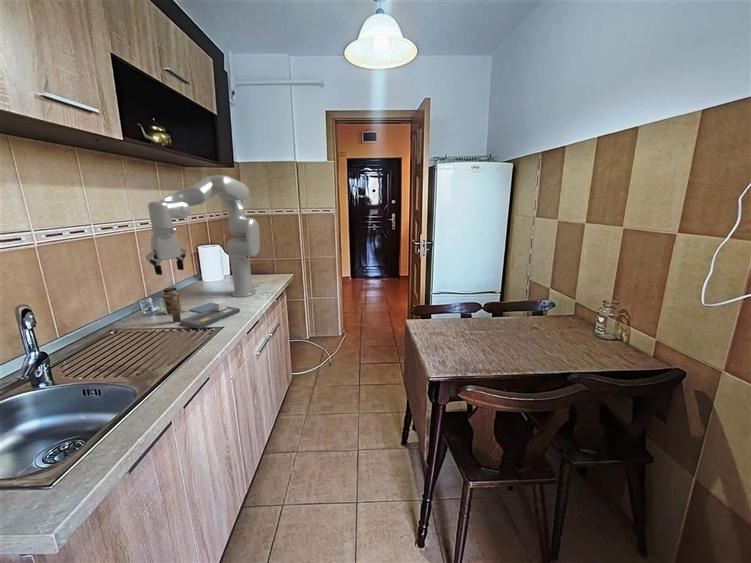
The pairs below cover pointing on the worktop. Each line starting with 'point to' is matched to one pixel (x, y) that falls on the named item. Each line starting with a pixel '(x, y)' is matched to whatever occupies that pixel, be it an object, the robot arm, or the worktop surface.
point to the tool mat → (202, 308)
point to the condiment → (167, 302)
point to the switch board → (208, 317)
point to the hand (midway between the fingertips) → (170, 272)
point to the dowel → (174, 306)
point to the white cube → (219, 305)
